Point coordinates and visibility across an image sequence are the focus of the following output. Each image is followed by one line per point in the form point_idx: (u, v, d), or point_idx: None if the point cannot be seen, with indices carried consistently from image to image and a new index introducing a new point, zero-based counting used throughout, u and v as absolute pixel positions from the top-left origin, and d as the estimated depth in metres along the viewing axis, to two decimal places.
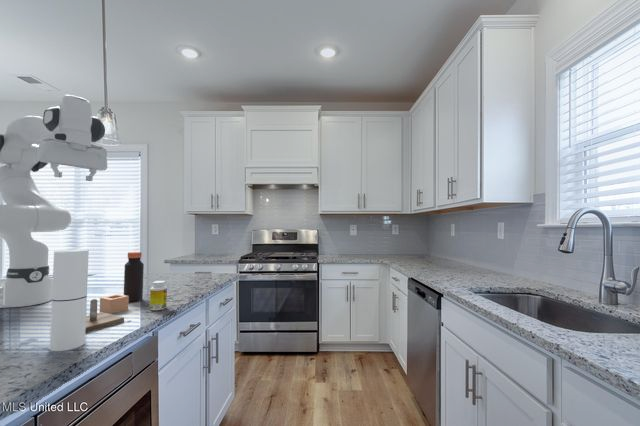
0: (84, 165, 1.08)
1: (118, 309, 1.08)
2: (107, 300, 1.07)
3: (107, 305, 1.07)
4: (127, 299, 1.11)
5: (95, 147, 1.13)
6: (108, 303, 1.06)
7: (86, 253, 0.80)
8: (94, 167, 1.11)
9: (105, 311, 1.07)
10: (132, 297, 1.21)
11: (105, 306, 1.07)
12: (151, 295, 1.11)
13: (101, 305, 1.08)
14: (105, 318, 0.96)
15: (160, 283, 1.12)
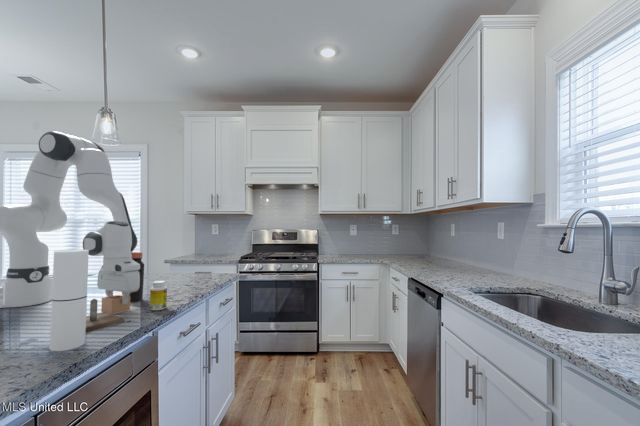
0: None
1: (120, 309, 1.08)
2: (109, 300, 1.06)
3: (109, 305, 1.06)
4: (129, 299, 1.11)
5: None
6: (110, 303, 1.06)
7: (86, 253, 0.80)
8: None
9: (107, 311, 1.07)
10: (132, 297, 1.21)
11: (106, 306, 1.07)
12: (151, 295, 1.11)
13: (102, 305, 1.08)
14: (105, 318, 0.96)
15: (160, 283, 1.12)
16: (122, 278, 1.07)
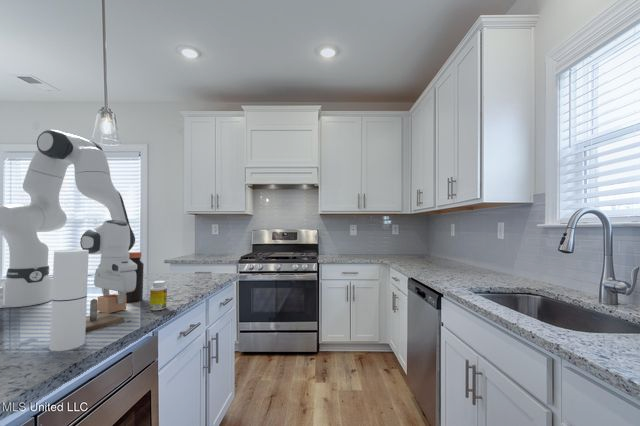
0: None
1: (115, 308, 1.08)
2: (105, 299, 1.06)
3: (104, 304, 1.06)
4: (125, 298, 1.11)
5: None
6: (105, 302, 1.06)
7: (86, 253, 0.80)
8: None
9: (102, 310, 1.06)
10: (132, 297, 1.21)
11: (102, 305, 1.07)
12: (151, 295, 1.11)
13: (98, 304, 1.08)
14: (105, 318, 0.96)
15: (160, 283, 1.12)
16: (119, 278, 1.07)
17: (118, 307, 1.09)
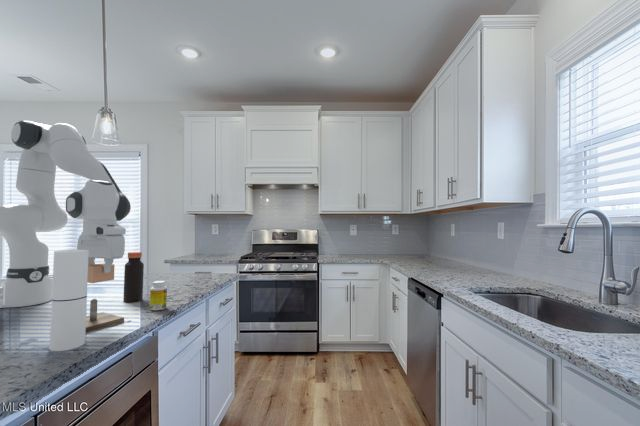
0: None
1: (102, 278, 0.95)
2: (89, 268, 0.93)
3: (89, 273, 0.93)
4: (113, 268, 0.98)
5: None
6: (90, 271, 0.93)
7: (86, 253, 0.80)
8: None
9: None
10: (132, 297, 1.21)
11: None
12: (151, 295, 1.11)
13: None
14: (105, 318, 0.96)
15: (160, 283, 1.12)
16: (104, 243, 0.94)
17: (105, 277, 0.96)
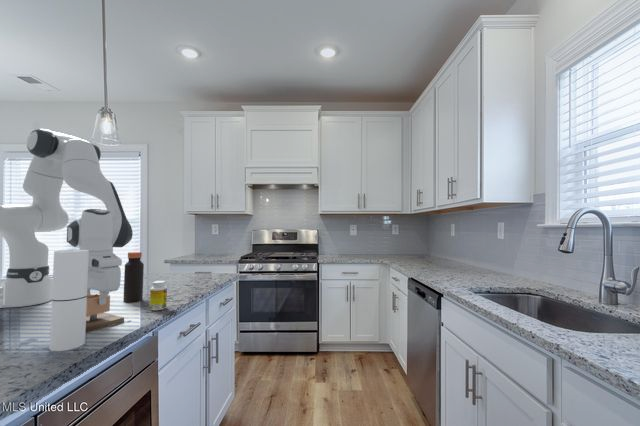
0: None
1: (97, 311, 0.93)
2: None
3: None
4: (108, 299, 0.96)
5: None
6: None
7: (86, 253, 0.80)
8: None
9: None
10: (132, 297, 1.21)
11: None
12: (151, 295, 1.11)
13: None
14: (105, 318, 0.96)
15: (160, 283, 1.12)
16: (100, 275, 0.92)
17: (100, 309, 0.94)
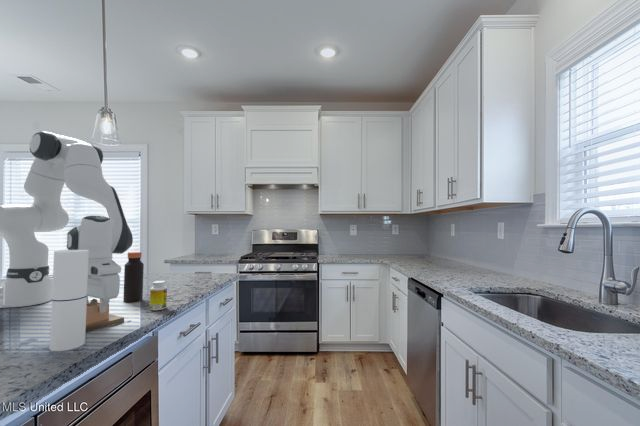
0: None
1: (96, 319, 0.93)
2: None
3: None
4: (107, 307, 0.96)
5: None
6: None
7: (86, 253, 0.80)
8: None
9: None
10: (132, 297, 1.21)
11: None
12: (151, 295, 1.11)
13: None
14: None
15: (160, 283, 1.12)
16: (99, 282, 0.92)
17: (99, 317, 0.94)
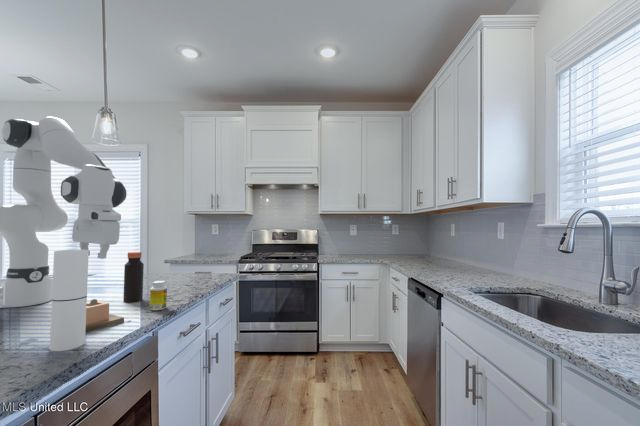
0: None
1: (96, 319, 0.93)
2: None
3: None
4: (107, 307, 0.96)
5: None
6: None
7: (86, 253, 0.80)
8: None
9: None
10: (132, 297, 1.21)
11: None
12: (151, 295, 1.11)
13: None
14: None
15: (160, 283, 1.12)
16: (99, 228, 0.93)
17: (99, 317, 0.94)
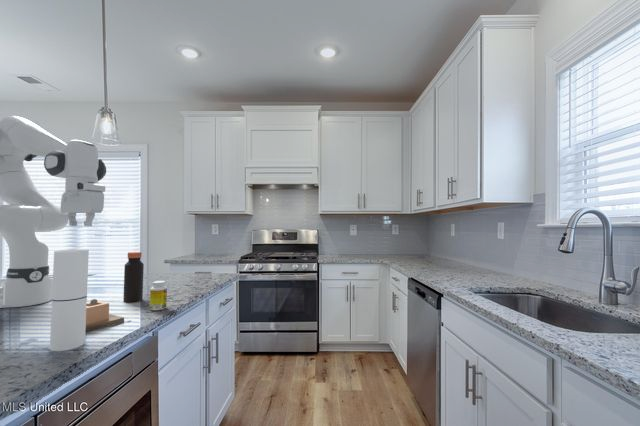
0: None
1: (96, 319, 0.93)
2: None
3: None
4: (107, 307, 0.96)
5: None
6: None
7: (86, 253, 0.80)
8: None
9: None
10: (132, 297, 1.21)
11: None
12: (151, 295, 1.11)
13: None
14: None
15: (160, 283, 1.12)
16: (85, 198, 1.00)
17: (99, 317, 0.94)
